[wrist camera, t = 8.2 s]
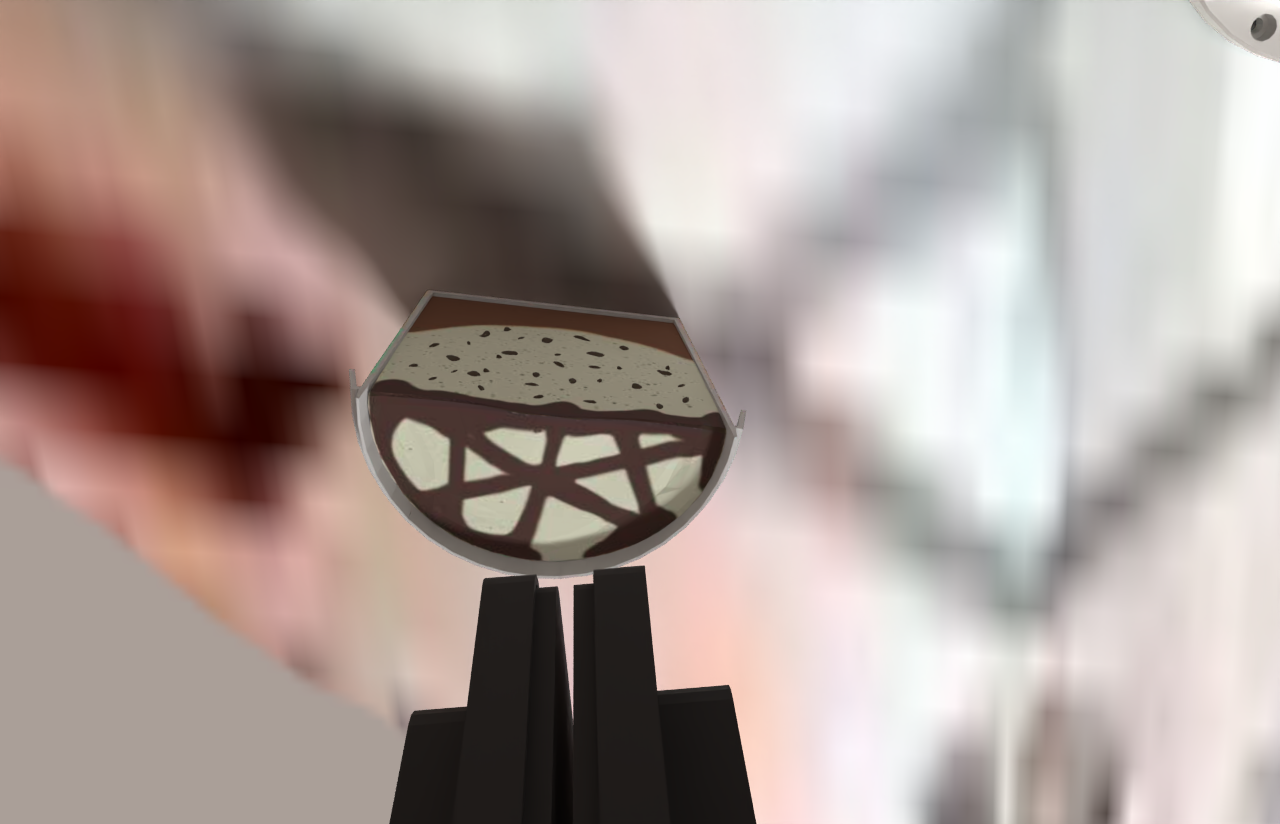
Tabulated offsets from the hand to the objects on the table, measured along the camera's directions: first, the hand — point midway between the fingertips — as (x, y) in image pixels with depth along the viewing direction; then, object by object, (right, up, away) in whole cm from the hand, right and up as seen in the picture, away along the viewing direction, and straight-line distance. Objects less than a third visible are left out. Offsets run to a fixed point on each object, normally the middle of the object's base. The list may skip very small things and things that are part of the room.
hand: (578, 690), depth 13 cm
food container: (-3, +4, +33) cm, 34 cm away
